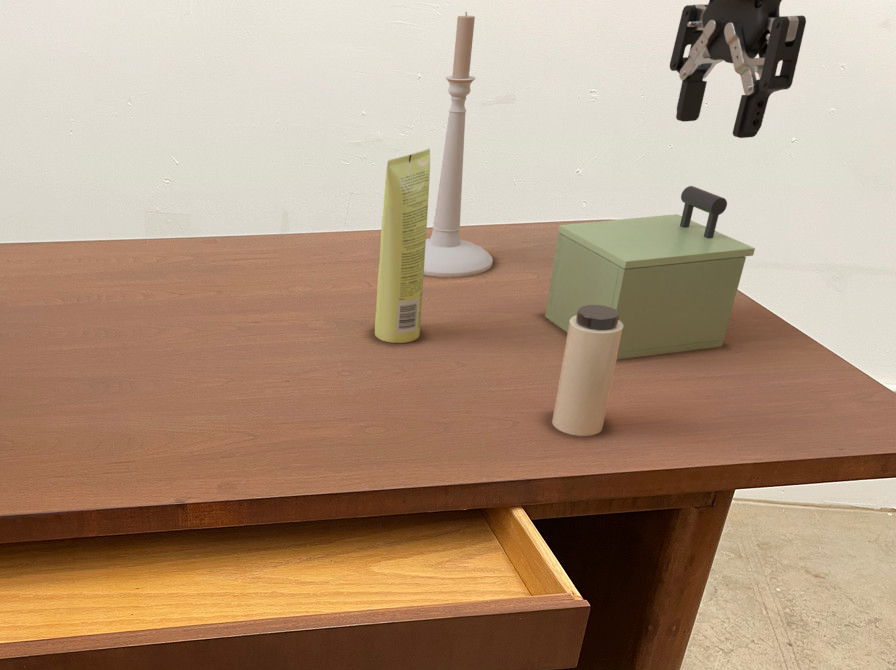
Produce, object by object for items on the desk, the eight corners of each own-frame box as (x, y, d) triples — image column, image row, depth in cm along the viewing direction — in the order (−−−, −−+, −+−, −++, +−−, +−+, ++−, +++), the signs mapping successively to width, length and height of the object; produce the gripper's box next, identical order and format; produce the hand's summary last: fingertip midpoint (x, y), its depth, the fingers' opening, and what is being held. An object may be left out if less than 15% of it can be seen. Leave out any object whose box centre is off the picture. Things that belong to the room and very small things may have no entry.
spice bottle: (585, 412, 86) (607, 300, 81) (611, 434, 83) (636, 318, 77) (542, 418, 86) (561, 305, 80) (567, 440, 82) (589, 323, 76)
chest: (650, 305, 109) (669, 222, 104) (721, 347, 98) (746, 257, 93) (544, 317, 106) (558, 232, 101) (605, 362, 96) (624, 269, 91)
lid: (675, 221, 104) (685, 175, 101) (753, 255, 93) (767, 206, 91) (558, 232, 101) (565, 185, 98) (624, 269, 90) (634, 218, 88)
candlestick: (501, 277, 118) (535, 16, 102) (401, 278, 118) (419, 18, 103) (481, 246, 129) (509, 6, 113) (389, 247, 129) (404, 7, 113)
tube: (371, 326, 105) (381, 147, 95) (416, 325, 105) (430, 146, 95) (376, 345, 100) (387, 160, 90) (423, 345, 100) (439, 159, 90)
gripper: (856, -62, 77) (799, 140, 86) (740, -66, 89) (700, 113, 97) (780, -60, 76) (729, 146, 84) (672, -64, 87) (637, 117, 96)
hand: (714, 128), depth 91 cm, fingers open, 8 cm apart
